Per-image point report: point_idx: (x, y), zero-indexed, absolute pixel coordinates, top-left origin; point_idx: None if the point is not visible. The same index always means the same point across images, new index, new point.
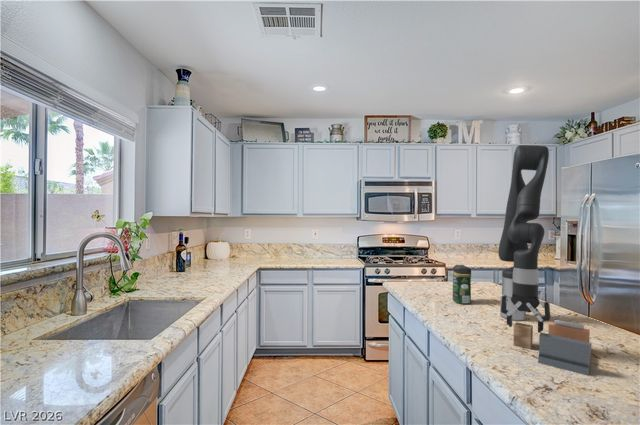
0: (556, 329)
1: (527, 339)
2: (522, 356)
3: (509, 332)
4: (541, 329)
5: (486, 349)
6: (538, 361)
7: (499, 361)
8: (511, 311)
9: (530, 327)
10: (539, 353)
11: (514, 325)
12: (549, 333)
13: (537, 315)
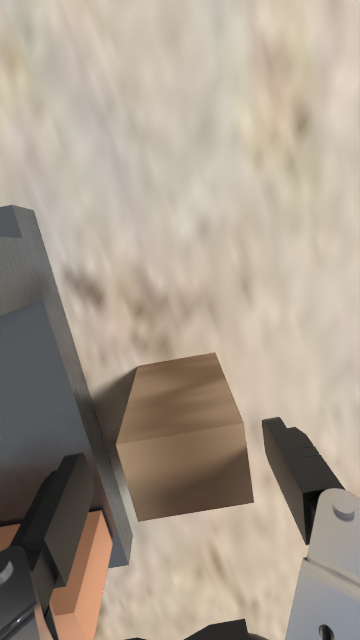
0: None
1: (147, 389)
2: (124, 234)
3: None
4: (51, 482)
5: (302, 164)
6: (28, 210)
7: (178, 17)
8: (334, 561)
9: (130, 469)
10: (16, 238)
11: (238, 424)
12: (87, 541)
13: (7, 625)
